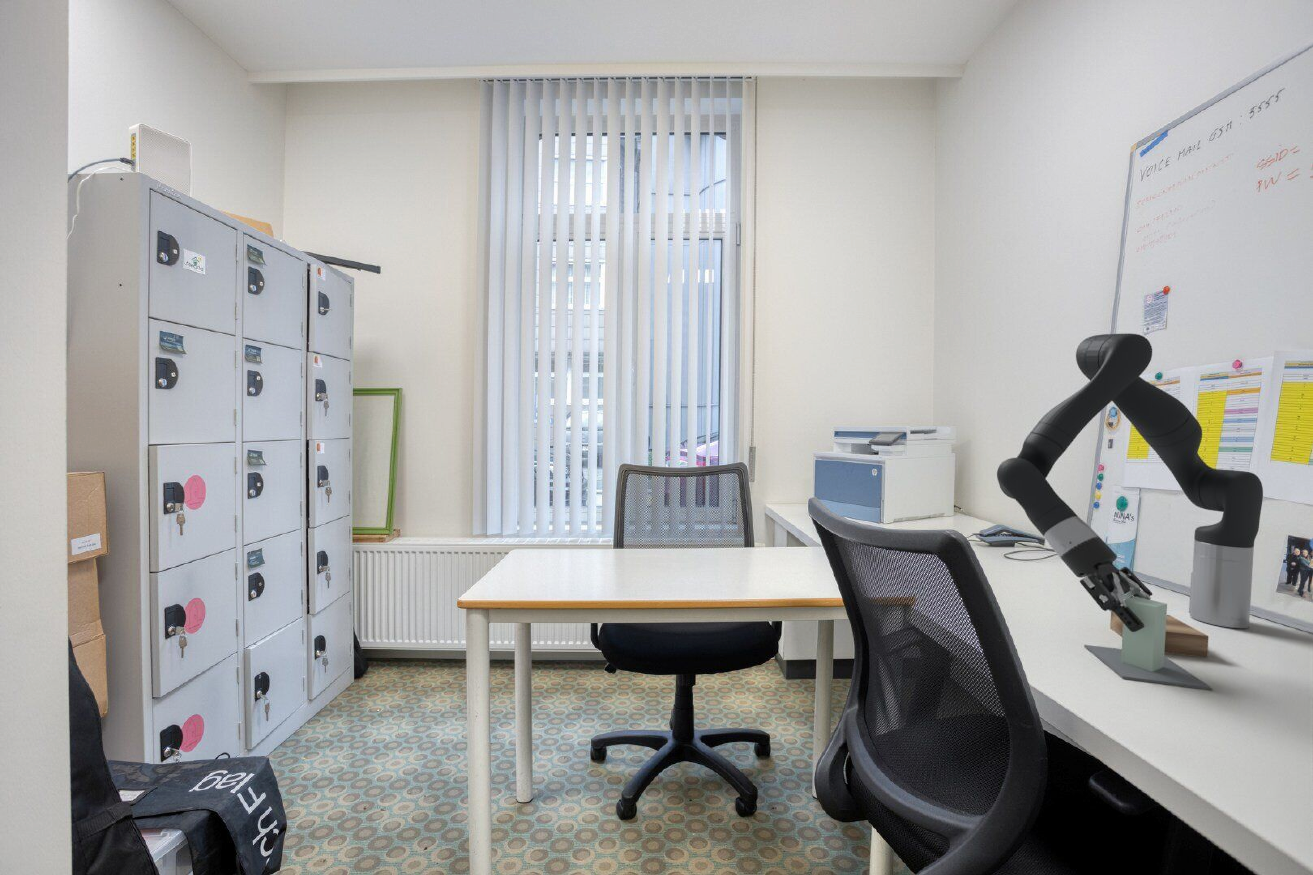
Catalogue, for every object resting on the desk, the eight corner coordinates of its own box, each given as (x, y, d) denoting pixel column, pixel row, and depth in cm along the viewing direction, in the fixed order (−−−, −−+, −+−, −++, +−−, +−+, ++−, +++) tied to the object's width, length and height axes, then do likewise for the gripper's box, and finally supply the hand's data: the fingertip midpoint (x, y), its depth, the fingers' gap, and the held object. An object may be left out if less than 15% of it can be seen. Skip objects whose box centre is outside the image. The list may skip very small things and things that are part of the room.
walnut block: (1110, 628, 118) (1111, 609, 118) (1168, 634, 115) (1169, 614, 115) (1141, 650, 106) (1142, 629, 106) (1207, 657, 104) (1208, 636, 104)
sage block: (1120, 661, 100) (1124, 599, 99) (1132, 657, 102) (1135, 596, 102) (1152, 671, 96) (1155, 607, 96) (1163, 666, 98) (1167, 603, 98)
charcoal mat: (1084, 646, 107) (1084, 644, 107) (1160, 655, 104) (1160, 653, 104) (1122, 678, 94) (1122, 676, 94) (1211, 689, 90) (1211, 687, 90)
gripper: (1076, 537, 102) (1152, 622, 92) (1114, 532, 109) (1188, 610, 99) (1042, 560, 107) (1111, 642, 97) (1081, 553, 113) (1149, 629, 104)
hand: (1150, 626), depth 98 cm, fingers open, 8 cm apart
